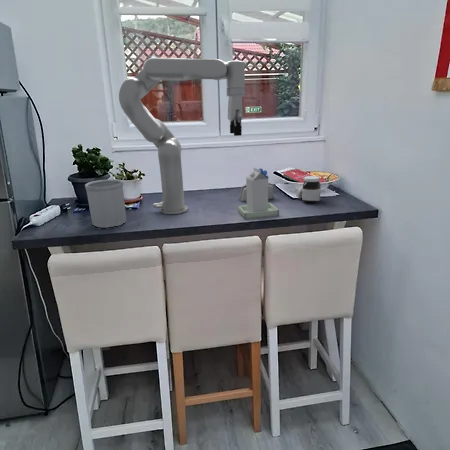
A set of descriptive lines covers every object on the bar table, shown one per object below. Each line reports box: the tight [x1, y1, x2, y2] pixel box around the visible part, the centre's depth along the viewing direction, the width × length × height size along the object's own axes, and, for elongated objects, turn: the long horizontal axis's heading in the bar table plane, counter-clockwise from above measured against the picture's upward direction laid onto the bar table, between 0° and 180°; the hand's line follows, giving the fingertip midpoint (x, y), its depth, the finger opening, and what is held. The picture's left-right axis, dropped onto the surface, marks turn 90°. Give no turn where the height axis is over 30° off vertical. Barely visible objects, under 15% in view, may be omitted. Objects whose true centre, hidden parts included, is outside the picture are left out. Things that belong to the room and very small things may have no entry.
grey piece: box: [239, 182, 274, 202], centre depth 191 cm, size 17×5×10 cm, turn 102°
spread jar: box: [296, 175, 322, 205], centre depth 184 cm, size 12×11×12 cm
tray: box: [237, 202, 280, 220], centre depth 170 cm, size 15×12×2 cm
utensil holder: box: [84, 178, 127, 227], centre depth 162 cm, size 15×15×18 cm
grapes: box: [258, 167, 270, 179], centre depth 206 cm, size 12×7×12 cm, turn 108°
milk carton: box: [245, 167, 269, 212], centre depth 167 cm, size 7×7×19 cm
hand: (235, 134), depth 169 cm, fingers open, 9 cm apart
